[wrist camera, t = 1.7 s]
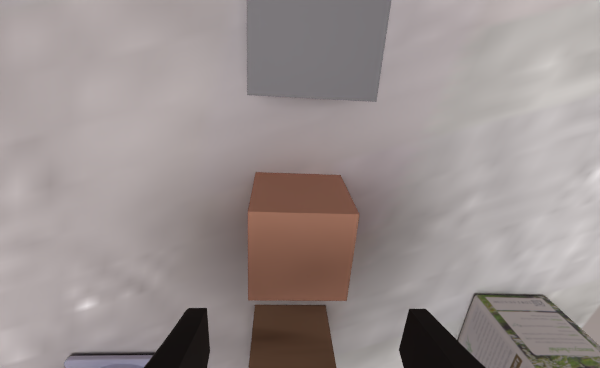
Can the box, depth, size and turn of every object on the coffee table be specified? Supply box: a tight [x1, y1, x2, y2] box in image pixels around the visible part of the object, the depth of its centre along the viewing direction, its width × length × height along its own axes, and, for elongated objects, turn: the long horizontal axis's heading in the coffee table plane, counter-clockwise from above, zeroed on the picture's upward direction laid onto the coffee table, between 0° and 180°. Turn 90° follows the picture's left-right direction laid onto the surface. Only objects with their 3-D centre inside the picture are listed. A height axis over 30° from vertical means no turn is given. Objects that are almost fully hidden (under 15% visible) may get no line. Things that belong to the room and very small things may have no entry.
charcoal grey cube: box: [247, 0, 391, 102], centre depth 14 cm, size 5×5×5 cm
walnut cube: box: [249, 305, 336, 368], centre depth 21 cm, size 5×5×5 cm
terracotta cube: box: [248, 172, 359, 301], centre depth 17 cm, size 5×5×5 cm
